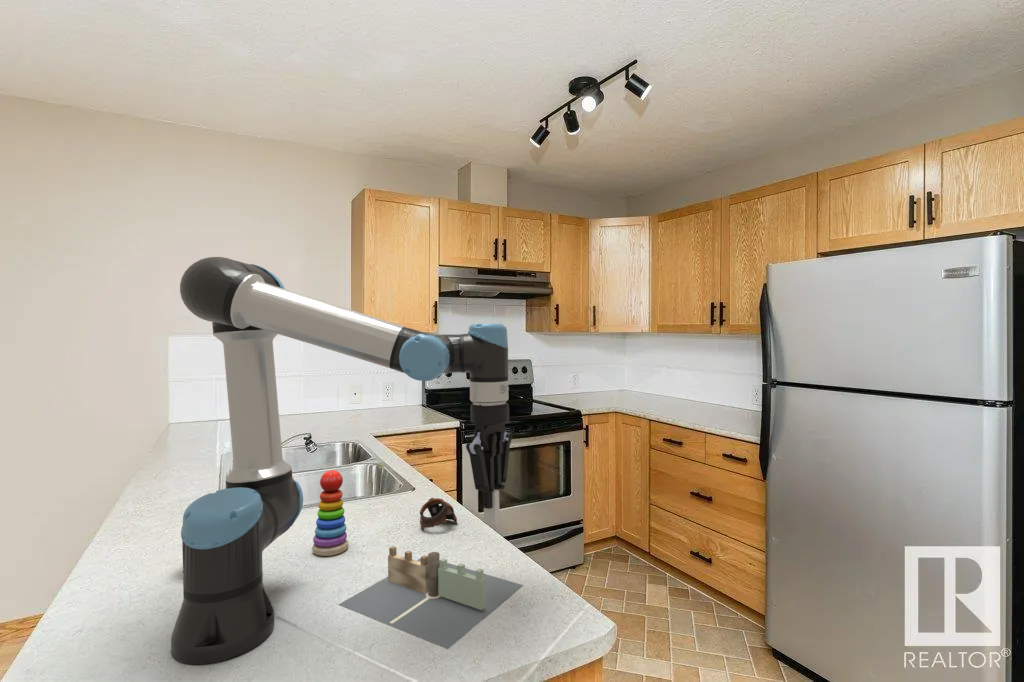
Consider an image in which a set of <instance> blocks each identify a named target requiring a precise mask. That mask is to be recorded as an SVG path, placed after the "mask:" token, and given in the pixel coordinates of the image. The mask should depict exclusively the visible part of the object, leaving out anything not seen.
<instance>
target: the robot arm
mask: <svg viewBox="0 0 1024 682" xmlns="http://www.w3.org/2000/svg"><path fill="white" fill-rule="evenodd" d="M179 293H180V298H181V300H182V302H183V304H184V306H185V307H186V308H187V309H188V311H189V312H190V313H192V314H193V315H195V316H196V317H197V318H198V319H201V320H204V321H207V322H210V323H211V326H212V334H213V335H212V336H214V338H217V339H218V340H219V341H220V342H221V343H222V347H223V355H224V369H225V379H226V381H225V382H226V391H227V402H228V403H227V404H228V413H229V415H228V417H229V425H230V426H229V427H230V436H231V437H230V438H231V449H232V461H233V462H232V463H233V468H232V469H231V471H230V472H229V473H228V474H227V476H226V477H225V486H226V487H225V488H224V489H219V490H216V492H211V493H207V494H204V495H203V496H200V497H198V498H197V499H195V500H194V501H192V502H191V503H190V504H189V505H187V507H186V508H185V510H184V513H183V515H182V525H181V529H180V530H181V531H180V538H181V542H182V543H181V547H182V578H183V580H182V581H183V582H182V584H183V585H182V588H183V589H182V591H183V597H182V598H183V600H182V603H181V607H180V610H179V613H178V615H177V619H176V621H175V624H174V628H173V631H172V634H171V638H170V639H171V640H170V643H171V645H170V647H171V655H172V657H173V658H174V659H176V660H177V661H178V662H181V663H185V664H189V665H190V664H192V665H203V664H212V663H218V662H221V661H225V660H229V659H232V658H234V657H237V656H240V655H243V654H245V653H247V652H248V651H251V650H252V649H254V648H256V647H257V646H260V644H262V643H263V642H264V641H265V640H266V639H268V638H269V636H270V635H271V634H272V633H273V631H274V628H275V609H274V606H273V605H272V602H271V599H270V597H269V594H268V592H267V590H266V587H265V584H264V582H263V581H264V577H263V575H264V574H263V573H264V572H263V551H265V549H267V547H268V546H269V547H270V545H271V544H272V543H273V542H274V541H275V540H276V539H278V538H279V537H280V536H282V535H283V534H285V533H286V532H288V531H289V530H290V528H291V527H292V526H293V525H294V523H295V522H296V521H297V519H298V518H299V516H300V514H301V512H302V509H303V505H304V495H303V490H302V489H303V488H302V487H301V485H300V483H299V482H298V481H296V480H295V478H294V477H293V468H292V467H293V466H292V465H291V464H289V463H287V462H286V461H285V460H283V449H282V436H281V425H280V413H279V400H278V399H279V398H278V390H277V388H278V387H277V377H276V367H275V352H274V343H273V342H274V339H275V338H276V337H277V336H278V335H280V336H284V337H287V338H290V339H293V340H297V341H299V342H300V341H301V342H303V343H305V344H306V343H307V344H308V345H309V344H310V345H313V346H317V347H320V348H323V349H327V350H330V351H333V352H335V353H336V352H337V353H339V354H343V355H346V356H350V357H353V358H356V359H359V360H362V361H365V362H370V363H372V364H375V365H378V366H382V367H385V368H389V369H391V370H394V371H397V372H400V373H403V374H406V376H408V377H409V378H410V379H413V380H415V381H421V382H428V381H433V380H435V379H437V378H439V377H441V376H442V375H443V374H458V373H462V374H465V373H469V400H470V402H471V405H470V408H469V409H470V422H471V423H472V424H473V425H474V426H475V429H474V434H473V437H474V439H473V441H472V442H467V444H466V446H465V449H466V451H467V453H468V455H469V460H470V465H471V473H472V476H473V477H472V478H473V483H474V488H475V490H477V491H482V502H483V503H482V506H483V524H486V525H487V524H488V525H492V526H497V525H499V524H500V523H501V519H500V513H501V511H500V501H501V499H500V490H504V489H505V487H506V485H505V483H506V482H507V478H508V477H507V476H508V466H509V455H510V450H511V448H510V447H511V442H512V439H513V434H512V433H511V432H507V431H506V425H505V424H507V423H508V422H509V421H510V405H509V403H508V402H507V401H509V390H510V387H509V344H508V343H509V342H508V341H509V340H508V330H507V326H505V325H504V324H502V323H491V322H490V323H472V324H469V327H468V331H467V333H461V334H429V333H426V332H423V331H420V330H417V329H413V328H410V327H406V326H404V325H400V324H397V323H394V322H390V321H388V320H384V319H381V318H378V317H375V316H372V315H368V314H366V313H362V312H359V311H355V310H352V309H349V308H345V307H343V306H340V305H337V304H333V303H330V302H327V301H325V300H320V299H318V298H314V297H312V296H311V297H310V296H308V295H304V294H301V293H298V292H295V291H292V290H289V289H286V288H285V286H284V284H283V283H282V281H281V279H279V277H278V276H276V275H275V274H274V273H273V272H271V271H270V270H268V269H266V268H264V267H262V266H260V265H257V264H254V263H246V262H241V261H238V260H234V259H231V258H228V257H224V256H223V257H222V256H212V257H211V256H210V257H209V256H208V257H204V258H201V259H199V260H197V261H195V262H193V263H192V264H191V265H189V266H188V267H187V268H186V270H185V271H184V273H183V275H182V276H181V280H180V283H179Z"/></svg>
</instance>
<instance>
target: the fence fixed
mask: <svg viewBox="0 0 1024 682" xmlns="http://www.w3.org/2000/svg"><path fill="white" fill-rule="evenodd" d="M388 552H389V554H388V555H387V577H388V581H390V582H393V583H396V584H399V585H402V586H405V587H408V588H411V589H413V590H416V591H419V592H422V593H425V594H426V593H427V592H428V595H429V596H430V597H436V596H438V568H440V560H441V559H440V552H437V551H431V552H428V554H427V555H421V556H420V558H421V562H419V561H417V560H415V559H413V552H412V551H411V550H407V551H405V552H404V556H403V555H399V554H397V547H396V546H394V545H392V546H391V547H389V548H388Z"/></svg>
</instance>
